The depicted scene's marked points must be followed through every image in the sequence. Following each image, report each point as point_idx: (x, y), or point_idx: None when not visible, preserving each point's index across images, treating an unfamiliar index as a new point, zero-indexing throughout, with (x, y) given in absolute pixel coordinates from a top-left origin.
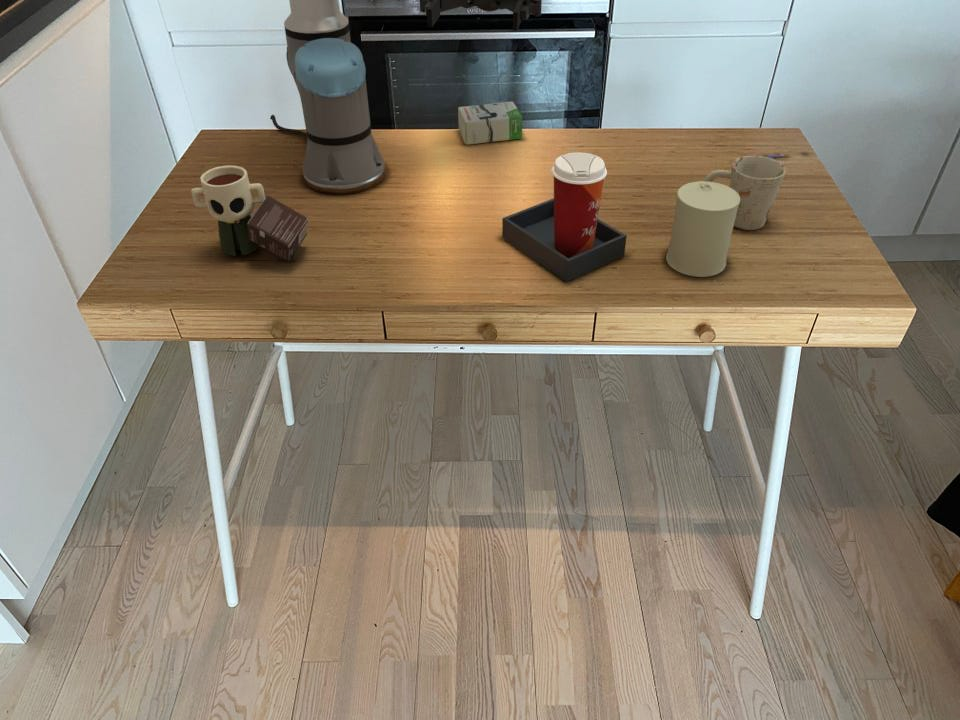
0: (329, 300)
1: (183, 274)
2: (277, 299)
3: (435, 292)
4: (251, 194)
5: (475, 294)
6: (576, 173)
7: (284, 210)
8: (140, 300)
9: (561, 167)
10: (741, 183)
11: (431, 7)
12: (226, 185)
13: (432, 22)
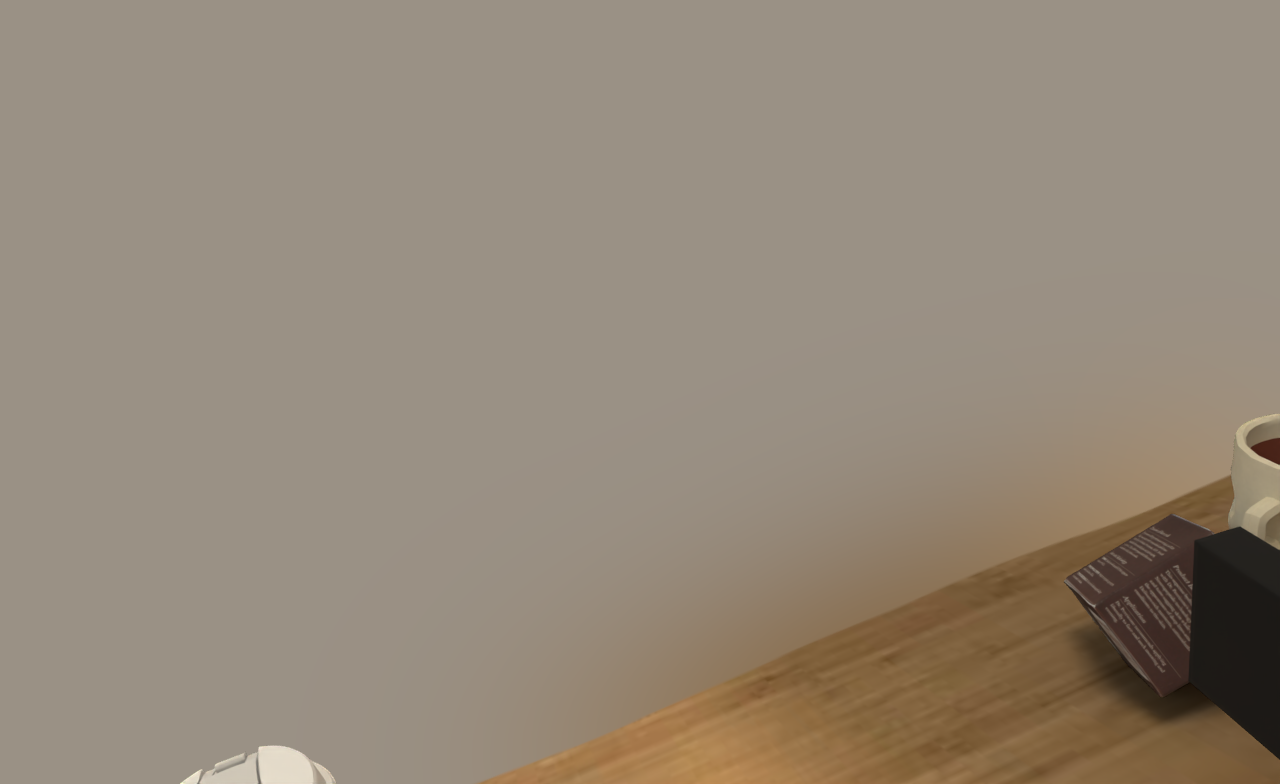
0: (900, 615)
1: None
2: (999, 576)
3: (700, 726)
4: (1267, 524)
5: (606, 759)
6: (249, 757)
7: (1146, 563)
8: (1227, 477)
9: (295, 760)
10: None
11: (1263, 573)
12: (1239, 428)
13: (1200, 657)
